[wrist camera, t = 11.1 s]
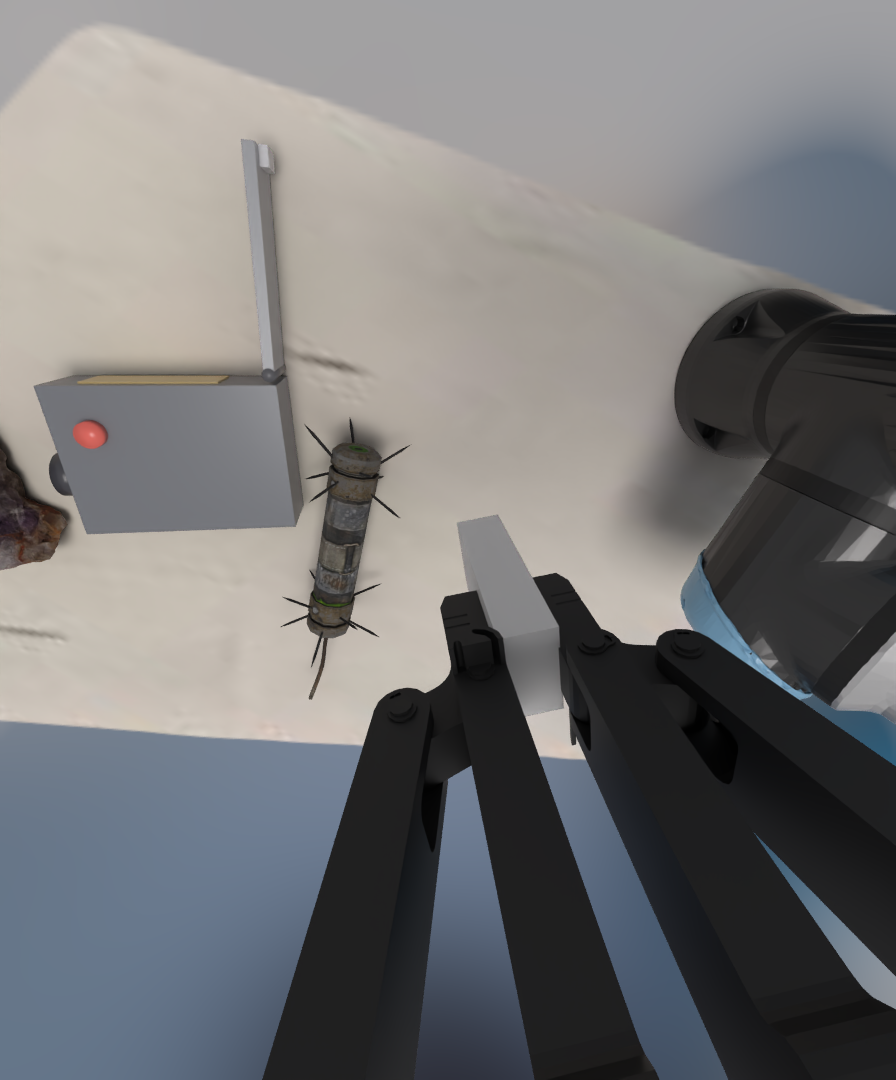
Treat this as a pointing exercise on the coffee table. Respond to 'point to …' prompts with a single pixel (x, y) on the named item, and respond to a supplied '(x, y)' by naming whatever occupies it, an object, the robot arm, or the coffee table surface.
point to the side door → (264, 254)
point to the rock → (24, 523)
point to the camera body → (174, 451)
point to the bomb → (342, 540)
